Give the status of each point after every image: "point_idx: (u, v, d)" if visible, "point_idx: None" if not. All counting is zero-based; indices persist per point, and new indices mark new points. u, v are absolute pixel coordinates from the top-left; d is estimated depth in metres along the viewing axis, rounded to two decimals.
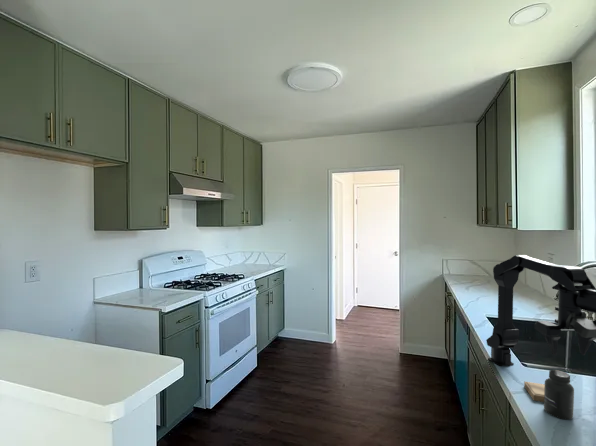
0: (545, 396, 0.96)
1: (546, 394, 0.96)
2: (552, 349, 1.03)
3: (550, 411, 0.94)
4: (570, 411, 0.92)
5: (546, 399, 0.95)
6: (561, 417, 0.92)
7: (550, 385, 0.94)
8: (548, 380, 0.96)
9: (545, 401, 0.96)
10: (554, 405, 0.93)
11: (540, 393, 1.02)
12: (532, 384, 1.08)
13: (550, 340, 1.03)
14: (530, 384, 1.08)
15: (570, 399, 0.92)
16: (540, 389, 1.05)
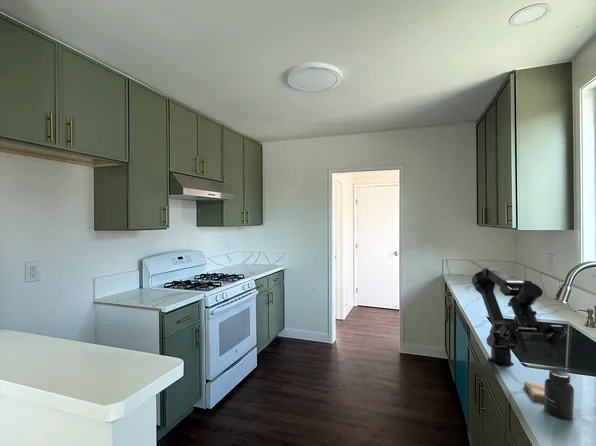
0: (545, 396, 0.96)
1: (546, 394, 0.96)
2: None
3: (550, 411, 0.94)
4: (570, 411, 0.92)
5: (546, 399, 0.95)
6: (561, 417, 0.92)
7: (550, 385, 0.94)
8: (548, 380, 0.96)
9: (545, 401, 0.96)
10: (554, 405, 0.93)
11: (540, 393, 1.02)
12: (532, 384, 1.08)
13: None
14: (530, 384, 1.08)
15: (570, 399, 0.92)
16: (540, 389, 1.05)
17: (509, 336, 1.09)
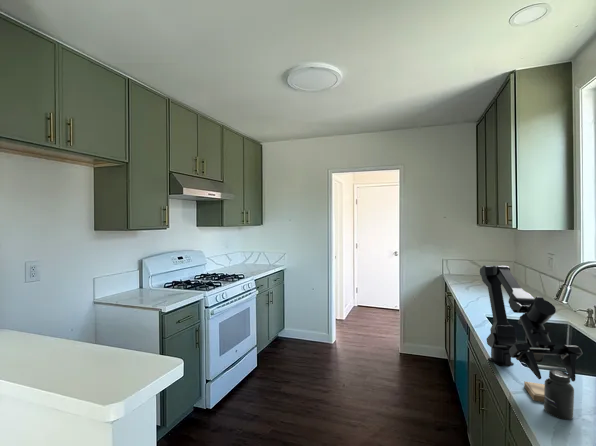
0: (545, 396, 0.96)
1: (546, 394, 0.96)
2: None
3: (550, 411, 0.94)
4: (570, 411, 0.92)
5: (546, 399, 0.95)
6: (561, 417, 0.92)
7: (550, 385, 0.94)
8: (548, 380, 0.96)
9: (545, 401, 0.96)
10: (554, 405, 0.93)
11: (540, 393, 1.02)
12: (532, 384, 1.08)
13: None
14: (530, 384, 1.08)
15: (570, 399, 0.92)
16: (540, 389, 1.05)
17: (520, 357, 1.02)
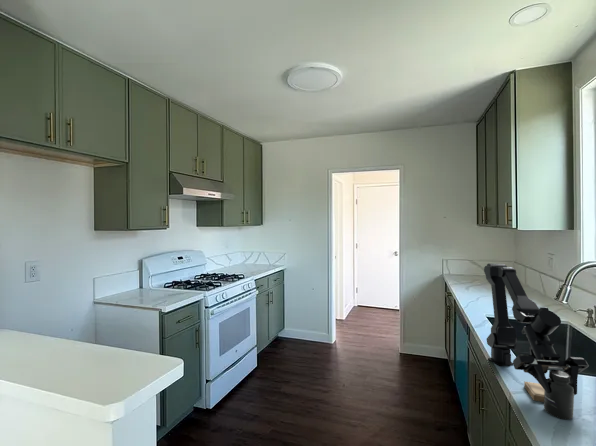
0: (545, 396, 0.96)
1: (546, 394, 0.96)
2: None
3: (550, 411, 0.94)
4: (570, 411, 0.92)
5: (546, 399, 0.95)
6: (561, 417, 0.92)
7: (550, 385, 0.94)
8: (548, 380, 0.96)
9: (545, 401, 0.96)
10: (554, 405, 0.93)
11: (540, 393, 1.02)
12: (532, 384, 1.08)
13: None
14: (530, 384, 1.08)
15: (570, 399, 0.92)
16: (540, 389, 1.05)
17: (528, 369, 0.99)
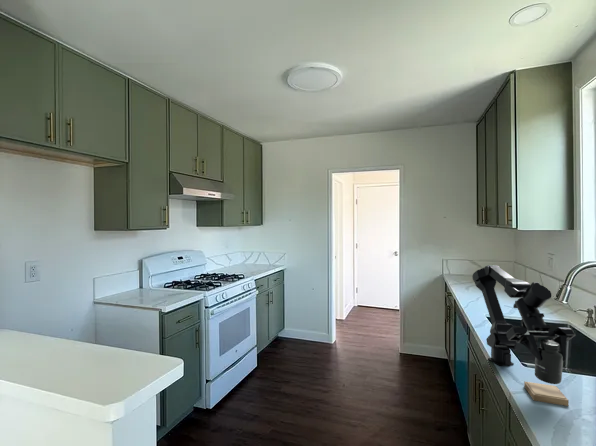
0: (536, 364, 1.03)
1: (537, 362, 1.02)
2: None
3: (541, 377, 1.01)
4: (559, 376, 0.99)
5: (537, 366, 1.02)
6: (551, 382, 1.00)
7: (541, 353, 1.01)
8: (539, 349, 1.03)
9: (536, 368, 1.03)
10: (544, 371, 1.00)
11: (540, 393, 1.02)
12: (532, 384, 1.08)
13: None
14: (530, 384, 1.08)
15: (559, 365, 0.99)
16: (540, 389, 1.05)
17: (521, 340, 1.06)
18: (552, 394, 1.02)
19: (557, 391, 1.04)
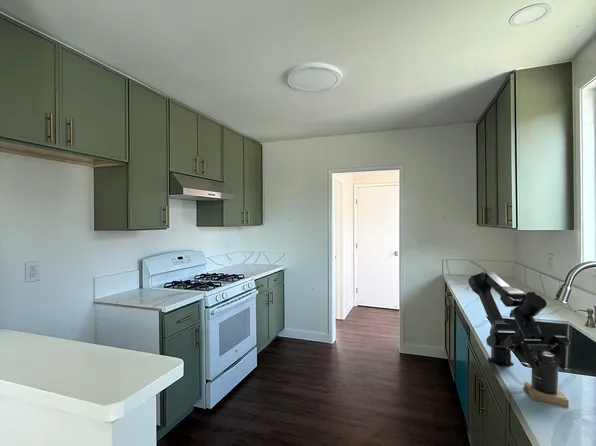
0: (533, 374, 1.05)
1: (534, 372, 1.05)
2: None
3: (537, 387, 1.04)
4: (555, 386, 1.02)
5: (534, 376, 1.05)
6: (547, 392, 1.02)
7: (537, 364, 1.04)
8: (535, 359, 1.06)
9: (533, 379, 1.05)
10: (541, 381, 1.03)
11: (540, 393, 1.02)
12: None
13: None
14: (530, 384, 1.08)
15: (555, 375, 1.02)
16: None
17: (515, 348, 1.08)
18: (552, 394, 1.02)
19: (557, 391, 1.04)
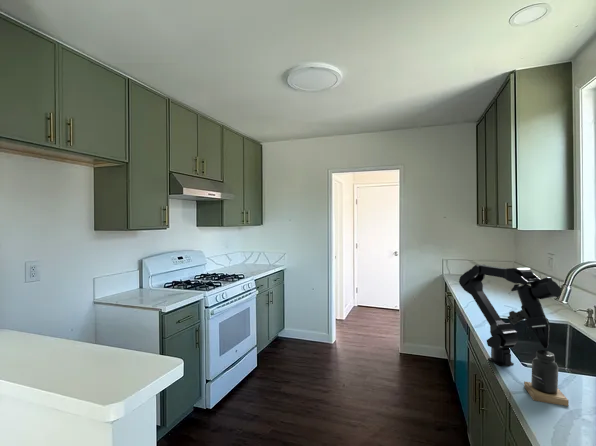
0: (533, 374, 1.05)
1: (534, 372, 1.05)
2: None
3: (537, 387, 1.04)
4: (555, 386, 1.02)
5: (534, 376, 1.05)
6: (547, 392, 1.02)
7: (537, 364, 1.04)
8: (535, 359, 1.06)
9: (533, 379, 1.05)
10: (541, 381, 1.03)
11: (540, 393, 1.02)
12: None
13: None
14: (530, 384, 1.08)
15: (555, 375, 1.02)
16: None
17: (536, 328, 1.09)
18: (552, 394, 1.02)
19: (557, 391, 1.04)
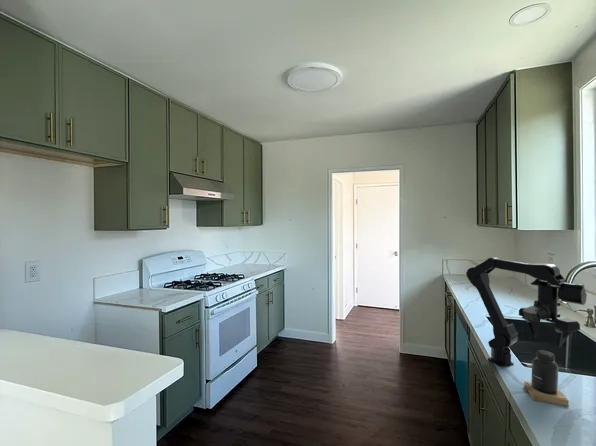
0: (533, 374, 1.05)
1: (534, 372, 1.05)
2: None
3: (537, 387, 1.04)
4: (555, 386, 1.02)
5: (534, 376, 1.05)
6: (547, 392, 1.02)
7: (537, 364, 1.04)
8: (535, 359, 1.06)
9: (533, 379, 1.05)
10: (541, 381, 1.03)
11: (540, 393, 1.02)
12: None
13: None
14: (530, 384, 1.08)
15: (555, 375, 1.02)
16: None
17: None
18: (552, 394, 1.02)
19: (557, 391, 1.04)
